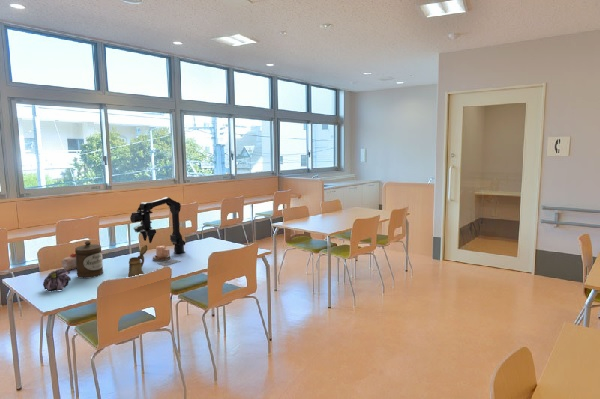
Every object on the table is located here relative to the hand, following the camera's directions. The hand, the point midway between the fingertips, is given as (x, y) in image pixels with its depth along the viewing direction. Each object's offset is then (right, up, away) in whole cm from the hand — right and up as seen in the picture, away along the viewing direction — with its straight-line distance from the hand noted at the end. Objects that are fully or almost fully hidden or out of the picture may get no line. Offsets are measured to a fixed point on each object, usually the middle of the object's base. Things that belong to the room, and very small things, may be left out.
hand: (147, 241), depth 285 cm
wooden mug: (+5, -18, -28) cm, 34 cm away
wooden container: (-27, -18, -27) cm, 42 cm away
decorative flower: (-33, -22, -52) cm, 65 cm away
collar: (+7, -13, +7) cm, 17 cm away
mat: (+16, -14, -3) cm, 22 cm away
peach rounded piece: (+9, -13, +6) cm, 17 cm away
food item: (-45, -17, -13) cm, 49 cm away
